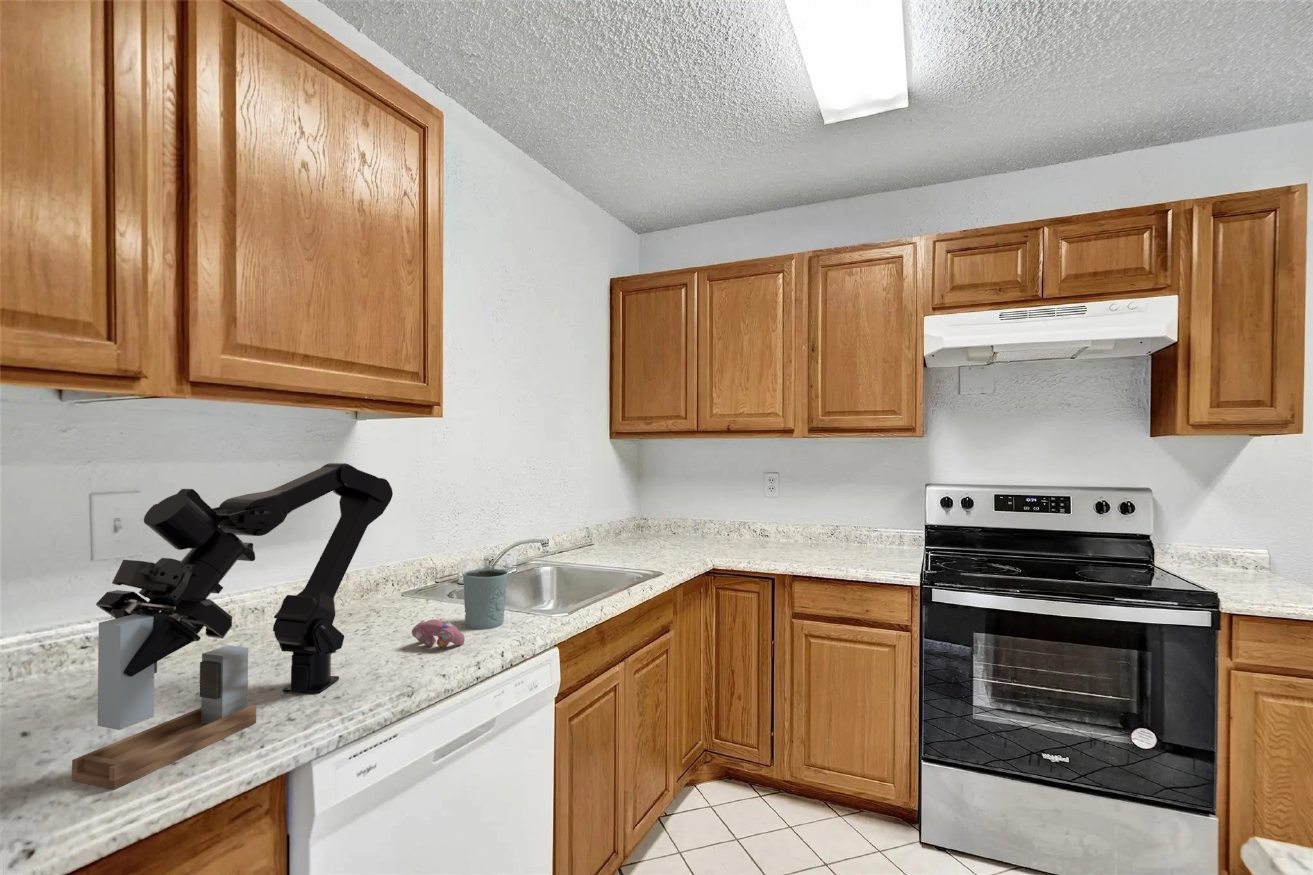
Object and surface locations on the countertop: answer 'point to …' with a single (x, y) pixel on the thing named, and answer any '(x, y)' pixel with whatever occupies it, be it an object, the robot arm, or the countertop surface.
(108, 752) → the walnut rail
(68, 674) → the countertop surface
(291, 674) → the robot arm
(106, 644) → the slate finger
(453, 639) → the video game controller
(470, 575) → the grey green cup
